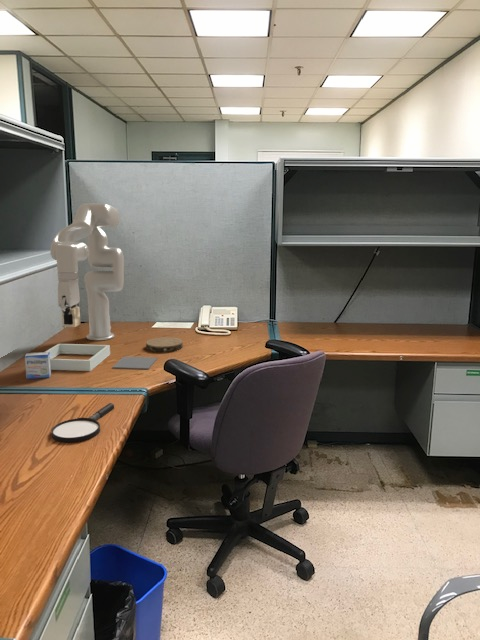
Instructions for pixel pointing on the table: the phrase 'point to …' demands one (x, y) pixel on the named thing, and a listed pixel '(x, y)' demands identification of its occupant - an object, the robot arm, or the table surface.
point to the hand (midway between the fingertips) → (71, 322)
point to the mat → (135, 363)
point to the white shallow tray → (78, 365)
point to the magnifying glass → (79, 427)
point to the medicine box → (37, 365)
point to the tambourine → (164, 344)
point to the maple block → (73, 317)
